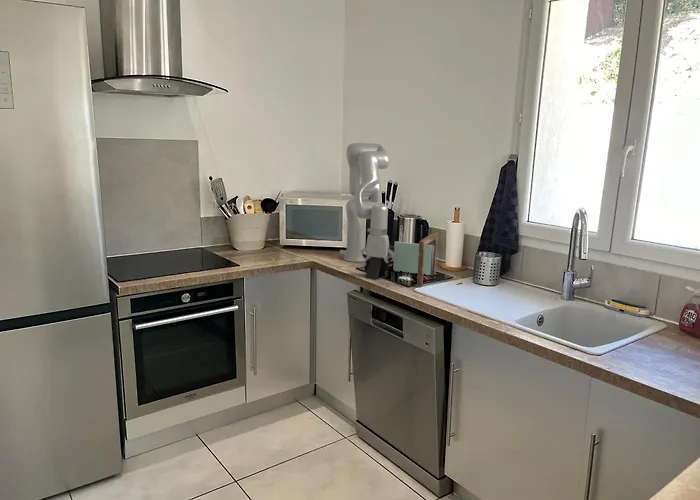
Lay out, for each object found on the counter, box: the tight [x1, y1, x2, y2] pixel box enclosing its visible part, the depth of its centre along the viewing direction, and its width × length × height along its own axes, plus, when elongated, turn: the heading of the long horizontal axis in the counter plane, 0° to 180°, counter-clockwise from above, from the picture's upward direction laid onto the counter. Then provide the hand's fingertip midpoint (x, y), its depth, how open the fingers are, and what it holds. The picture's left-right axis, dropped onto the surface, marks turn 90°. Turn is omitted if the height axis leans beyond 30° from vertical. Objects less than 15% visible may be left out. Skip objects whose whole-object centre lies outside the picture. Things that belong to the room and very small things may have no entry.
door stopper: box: [365, 257, 389, 280], centre depth 243 cm, size 9×6×12 cm, turn 136°
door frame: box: [416, 231, 439, 288], centre depth 239 cm, size 2×26×20 cm, turn 157°
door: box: [392, 241, 434, 276], centre depth 251 cm, size 19×2×14 cm, turn 67°
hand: (377, 269), depth 244 cm, fingers open, 8 cm apart
